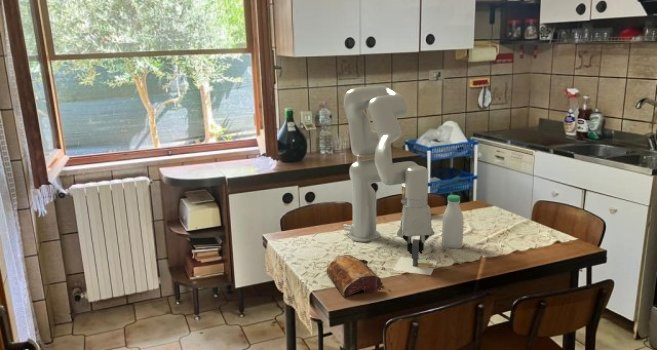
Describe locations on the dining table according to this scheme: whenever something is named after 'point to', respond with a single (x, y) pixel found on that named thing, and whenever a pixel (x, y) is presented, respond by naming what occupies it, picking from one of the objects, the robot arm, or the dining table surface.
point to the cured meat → (352, 276)
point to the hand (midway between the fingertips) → (415, 252)
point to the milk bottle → (452, 224)
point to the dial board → (407, 266)
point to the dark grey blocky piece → (417, 254)
